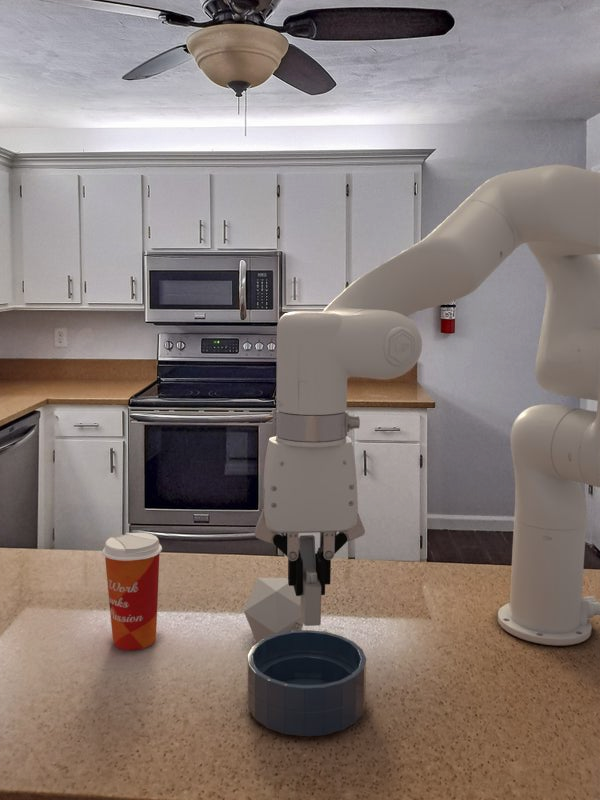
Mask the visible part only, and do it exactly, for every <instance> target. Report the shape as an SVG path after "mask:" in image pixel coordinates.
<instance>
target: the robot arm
mask: <svg viewBox="0 0 600 800" xmlns="http://www.w3.org/2000/svg"><path fill="white" fill-rule="evenodd" d="M523 244H526V246H527V247H528V249H529V250H530V252H531V253H532V254H533V256H534V258H535V259H536V261H537V263H538V265H539V267H540V269H541V271H542V274H543V276H544V280H545V287H546V296H545V303H544V304H545V305H544V312H543V318H542V322H541V323H542V324H541V329H540V334H539V342H538V345H537V351H536V357H535V358H536V359H535V367H534V374H535V380H536V381H537V384H538V385H539V387H541V389H543V390H544V391H546V392H549V393H552V394H555V395H559V396H564V397H568V398H569V397H570V398H574V399H575V398H576V399H583V400H589V401H596V402H597V405H596V410H589V409H585V408H580V407H573V406H566V405H559V404H553V403H552V404H551V403H550V404H549V403H544V404H543V403H542V404H535V405H532V406H530V407H527V408H526V409H524V410H522V411H521V413H519V415H518V416H517V417H516V418H515V420H514V422H513V424H512V427H511V431H510V439H509V441H510V452H511V458H512V459H511V460H512V464H513V471H514V482H515V483H514V488H515V489H514V490H515V492H514V494H515V495H514V514H513V515H514V516H513V531H512V532H513V533H512V552H511V571H510V572H511V573H510V589H509V592H510V593H509V602H508V603H506V604H504V605H502V606H501V607H500V608H499V609H498V611H497V622H498V624H499V625H500V627H501V628H502V629H503V630H504V631H506V632H507V633H509V634H510V635H512V636H514V637H516V638H518V639H521V640H524V641H527V642H530V643H535V644H539V645H545V646H554V647H555V646H558V647H559V646H562V647H563V646H573V645H576V644H580V643H583V642H585V641H587V640H588V639H589V638H590V637H591V635H592V622H591V621H590V620H589V619H592V618H593V617H595V616H600V601H599V600H598V601H597V599H596V596H594V595H589V596H587V595H586V596H583V580H584V567H585V551H586V535H587V523H588V506H587V505H588V504H587V501H586V497H585V492H584V490H583V488H582V485H581V484H583V485H588V486H592V487H597V488H600V258H599V257H598V256H597V255H600V172H597V171H595V170H589V169H585V168H581V167H577V166H574V165H573V166H572V165H568V164H549V165H542V166H537V167H531V168H525V169H520V170H519V169H518V170H513V171H508V172H504V173H500V174H497V175H495V176H493V177H491V178H488V179H487V180H486V181H484V182H483V183H482V184H481V185H479V186H478V188H476V189H475V190H474V191H473V192H472V193H471V194H470V195H469V196H468V197H467V198H466V199H465V200H464V201H463V202H462V203H461V204H459V206H457V208H456V209H455V210H453V211H452V212H451V213H450V214H449V215H448V216H447V217H446V218H445V219H444V220H443V221H442V222H441V223H439V224H438V225H437V226H436V227H435V228H434V229H433V230H432V231H431V232H430V233H429V234H428V235H427V236H425V237H424V238H423V239H421V240H420V241H419V242H417V243H415V244H412V245H411V246H410V247H408V248H405V249H404V250H402V251H400V252H399V253H397V254H396V255H394V256H393V257H390V258H389V259H388V260H386V261H384V262H383V263H381V264H379V265H377V266H376V267H374V268H372V269H370V270H369V271H368V272H366V273H364V274H362V275H361V276H360V277H358V278H357V279H356V280H354V281H353V282H352V283H351V284H349V285H348V286H347V287H346V288H345V289H344V290H343V291H341V292H340V294H338V295H337V296H336V297H335V298H334V299H333V300H332V301H331V302H330V303H329V304H328V305H327V306H326V307H324V309H323V310H322V311H314V310H313V311H311V310H309V311H306V310H304V311H301V310H300V311H299V310H298V311H290V312H286V313H284V314H282V315H281V316H280V318H279V319H278V322H277V325H276V393H275V394H276V396H275V399H276V401H275V403H276V407H275V408H276V410H275V412H276V413H275V418H276V420H275V427H276V428H275V435H274V436H271V437H269V439H268V442H267V447H266V451H265V452H266V453H265V458H264V469H263V471H264V472H263V485H262V511H261V513H260V515H259V517H258V520H257V522H256V525H255V527H254V532H253V533H254V537H255V538H256V539H257V540H261V541H264V542H265V543H269V544H271V545H272V544H273V545H274V546H275V547H276V548H277V549H278V550H279V551H281V552H282V553H283V555H285V556H286V558H287V578H288V584H289V586H294V590H295V594H296V596H301V595H303V560H302V557H301V554H300V551H299V537H300V535H299V534H313V533H314V534H315V533H317V534H318V533H319V547H318V548H317V551H316V552H315V557H316V573H317V576H318V579H319V582H320V584H321V596H325V595H326V585H327V586H328V585H331V579H332V578H331V576H332V573H331V572H332V570H331V567H332V560H333V559H334V557H335V554H336V553H338V552H339V551H340V549H342V548H343V546H345V545H346V543H347V542H351V541H353V540H355V539H358V538H360V537H362V536H364V535H365V533H366V530H365V527H364V524H363V522H362V519H361V517H360V514H359V500H358V499H359V498H358V482H357V481H358V480H357V466H356V458H355V453H354V446H353V441H352V438H351V437H350V436H348V433H349V432H350V431H353V429H360V426H361V420H360V416H359V415H357V416H355V415H354V416H353V415H352V414H350V413H349V412H348V411H347V410H348V409H347V408H348V407H347V406H348V405H347V404H348V403H347V402H348V379H349V378H363V379H365V378H366V379H374V380H384V381H385V380H392V379H396V378H399V377H401V376H404V375H405V374H407V373H409V371H411V370H412V369H413V368H414V367H415V365H417V363H418V361H419V359H420V358H421V355H422V350H423V340H422V335H421V333H420V330H419V328H418V326H417V325H416V324H415V323H414V321H413V320H412V319H410V318H408V316H410V315H412V314H414V313H417V312H420V311H424V310H427V309H431V308H434V307H438V306H443V305H446V304H449V303H451V302H454V301H456V300H459V299H462V298H464V297H466V296H468V295H470V294H471V293H473V292H475V291H476V290H477V289H478V288H479V287H480V286H481V285H482V284H483V283H484V282H485V281H486V280H487V279H488V278H489V277H490V276H491V274H493V272H495V271H496V269H497V268H498V267H500V265H501V264H502V263H503V262H504V261H505V260H506V259H507V258H508V257H509V256H511V254H512V253H513V252H515V250H516V249H517V248H519V247H520V246H521V245H523Z"/></svg>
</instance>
